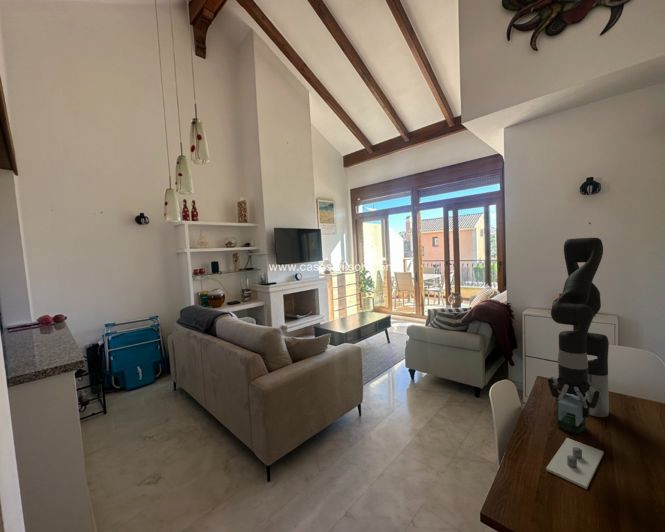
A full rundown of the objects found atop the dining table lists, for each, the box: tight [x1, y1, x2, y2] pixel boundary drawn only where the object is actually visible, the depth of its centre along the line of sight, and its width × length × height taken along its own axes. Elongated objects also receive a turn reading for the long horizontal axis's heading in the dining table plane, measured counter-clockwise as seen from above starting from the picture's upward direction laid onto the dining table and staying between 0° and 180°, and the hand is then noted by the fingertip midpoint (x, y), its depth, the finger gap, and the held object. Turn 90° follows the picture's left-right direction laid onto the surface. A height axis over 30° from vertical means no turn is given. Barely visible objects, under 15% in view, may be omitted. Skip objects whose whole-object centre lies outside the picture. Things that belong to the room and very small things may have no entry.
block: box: [558, 393, 589, 426], centre depth 97 cm, size 12×5×6 cm, turn 127°
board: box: [545, 437, 605, 490], centre depth 97 cm, size 22×10×3 cm, turn 128°
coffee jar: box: [556, 382, 587, 434], centre depth 114 cm, size 10×8×19 cm
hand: (573, 413), depth 97 cm, fingers closed on block, 5 cm apart
